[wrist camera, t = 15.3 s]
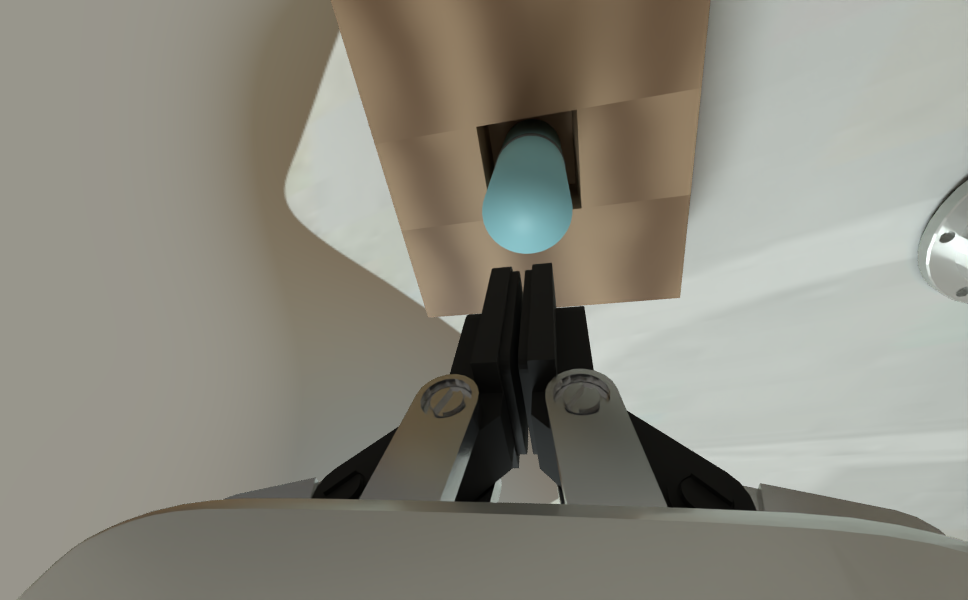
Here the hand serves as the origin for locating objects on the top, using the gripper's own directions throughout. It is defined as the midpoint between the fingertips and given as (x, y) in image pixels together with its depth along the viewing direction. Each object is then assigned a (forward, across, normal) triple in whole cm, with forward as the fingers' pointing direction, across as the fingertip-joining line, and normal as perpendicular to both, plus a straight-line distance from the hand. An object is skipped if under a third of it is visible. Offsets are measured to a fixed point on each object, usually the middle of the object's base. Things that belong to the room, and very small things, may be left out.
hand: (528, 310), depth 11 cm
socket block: (+21, 0, 0) cm, 21 cm away
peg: (+20, 0, 0) cm, 20 cm away
